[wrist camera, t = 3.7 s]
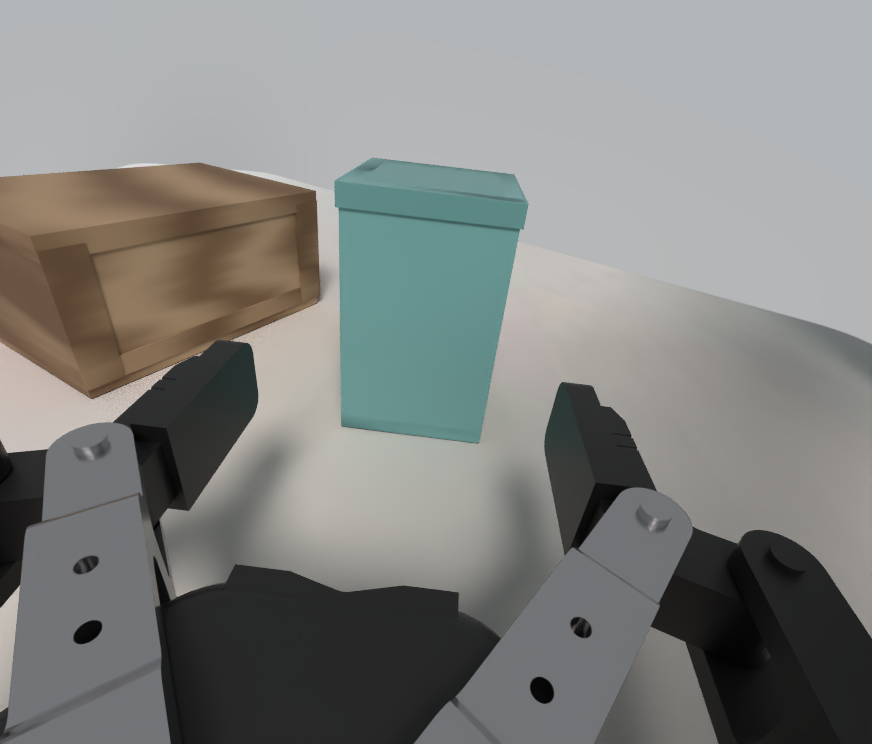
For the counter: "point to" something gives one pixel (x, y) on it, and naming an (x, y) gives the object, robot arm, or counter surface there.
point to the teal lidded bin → (423, 293)
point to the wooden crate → (147, 266)
